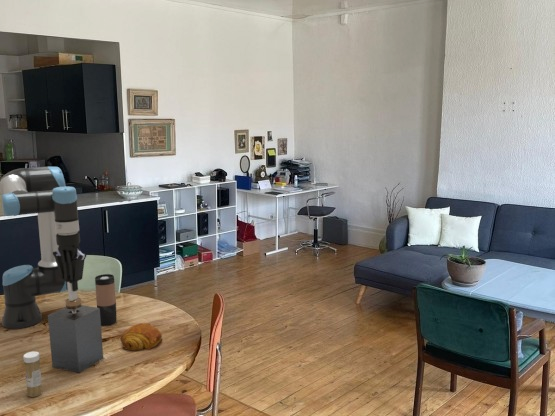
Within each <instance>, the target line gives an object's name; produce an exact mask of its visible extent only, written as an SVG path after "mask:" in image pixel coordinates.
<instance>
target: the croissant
mask: <svg viewBox="0 0 555 416" xmlns="http://www.w3.org/2000/svg"><path fill="white" fill-rule="evenodd" d="M162 335H163V334H162V333H161V331H160V330H159V329H158V328H157V327H155V326H154V325H152V324H151V323H150V324H149V323H137V324H133V325H132V326H130V327H129V328H128V329H126V331H124V332H122V335H121V337H120V341H121V346H122V347H123V348H124V349H126V350H128V351H138V350H140V351H141V350H150V349H152V348H154V347H156V346H157V345H159V343H161V340H162V337H163V336H162Z"/></svg>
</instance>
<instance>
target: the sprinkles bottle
mask: <svg viewBox="0 0 555 416" xmlns="http://www.w3.org/2000/svg"><path fill="white" fill-rule="evenodd" d="M40 358H41V357H40V353H39V352H38V351H36V350H35V351H28V352H26V353H24V354H23V356H22V359H23V363H24V371H25V373H24V374H25V383H26V392H27V393H26V395H27V396H28V397H29V398H34V397H38V396H40V395H42V393H43V389H42V387H43V386H42V375H41V374H42V373H41V372H42V371H41V367H40Z"/></svg>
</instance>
